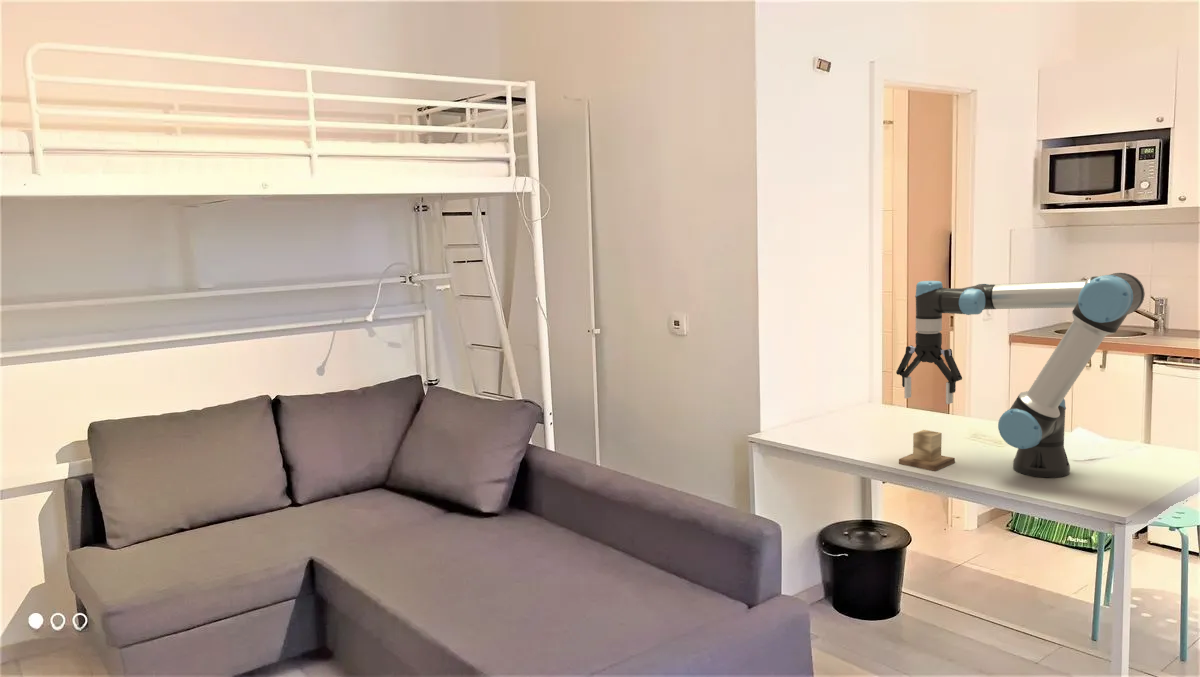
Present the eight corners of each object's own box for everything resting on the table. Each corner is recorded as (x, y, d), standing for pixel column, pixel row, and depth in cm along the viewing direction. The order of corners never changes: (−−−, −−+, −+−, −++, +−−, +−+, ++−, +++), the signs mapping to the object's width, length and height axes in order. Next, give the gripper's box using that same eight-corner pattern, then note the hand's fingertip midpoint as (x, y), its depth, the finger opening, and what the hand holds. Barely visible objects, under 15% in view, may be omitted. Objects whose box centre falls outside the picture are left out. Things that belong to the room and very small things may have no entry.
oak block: (941, 457, 273) (941, 432, 272) (931, 462, 269) (931, 436, 268) (923, 454, 278) (923, 429, 276) (913, 458, 274) (913, 433, 273)
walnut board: (954, 462, 273) (954, 457, 273) (935, 471, 265) (935, 466, 265) (918, 455, 282) (918, 450, 282) (898, 463, 274) (898, 458, 274)
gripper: (974, 333, 261) (973, 403, 264) (897, 327, 280) (897, 393, 282) (962, 336, 256) (961, 407, 259) (885, 330, 275) (885, 397, 278)
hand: (928, 400), depth 271 cm, fingers open, 13 cm apart
